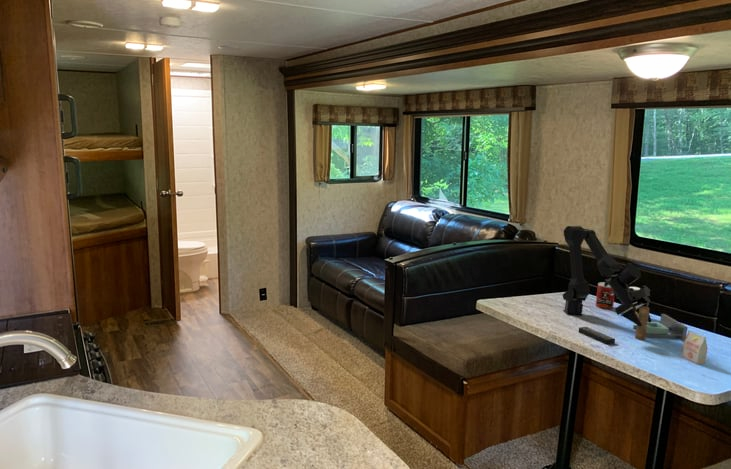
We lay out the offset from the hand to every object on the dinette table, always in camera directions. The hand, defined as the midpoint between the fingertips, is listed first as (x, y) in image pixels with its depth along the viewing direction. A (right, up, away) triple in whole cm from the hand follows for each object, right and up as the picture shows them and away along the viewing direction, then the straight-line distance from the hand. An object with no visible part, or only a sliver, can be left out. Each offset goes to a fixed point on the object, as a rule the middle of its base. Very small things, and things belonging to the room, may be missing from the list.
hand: (645, 324), depth 217 cm
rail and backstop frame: (+9, -6, +9) cm, 14 cm away
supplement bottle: (+10, -2, +32) cm, 34 cm away
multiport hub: (-19, -6, +1) cm, 20 cm away
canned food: (+2, +1, +44) cm, 44 cm away
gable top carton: (+8, -11, -17) cm, 22 cm away
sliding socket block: (+8, -5, +9) cm, 13 cm away
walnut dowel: (-1, -6, +2) cm, 7 cm away
